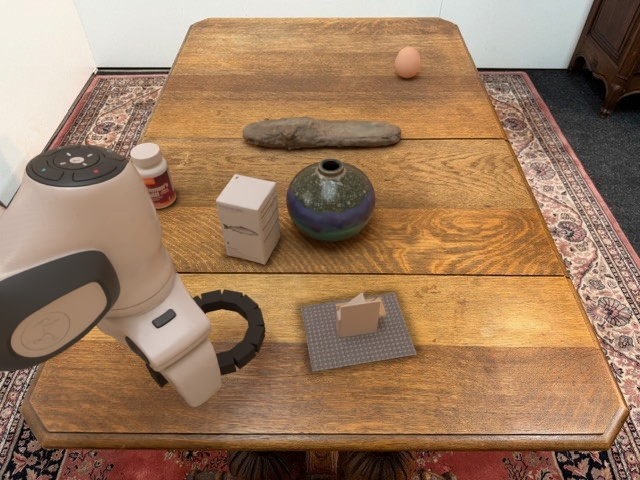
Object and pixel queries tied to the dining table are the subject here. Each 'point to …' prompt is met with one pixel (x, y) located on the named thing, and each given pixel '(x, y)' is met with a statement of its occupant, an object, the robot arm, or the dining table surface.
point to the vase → (330, 200)
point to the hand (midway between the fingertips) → (165, 365)
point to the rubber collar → (243, 349)
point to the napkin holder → (356, 331)
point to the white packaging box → (249, 218)
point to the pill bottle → (154, 173)
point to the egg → (407, 62)
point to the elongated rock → (320, 133)
